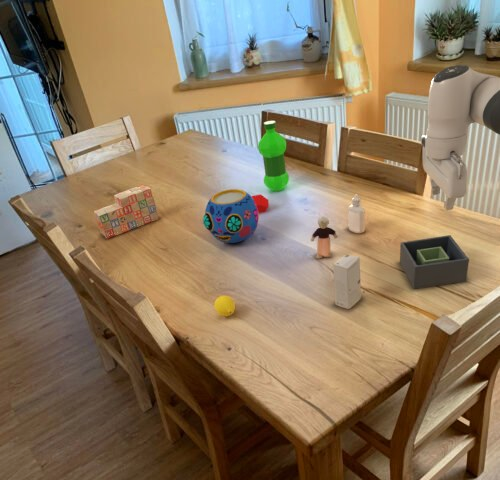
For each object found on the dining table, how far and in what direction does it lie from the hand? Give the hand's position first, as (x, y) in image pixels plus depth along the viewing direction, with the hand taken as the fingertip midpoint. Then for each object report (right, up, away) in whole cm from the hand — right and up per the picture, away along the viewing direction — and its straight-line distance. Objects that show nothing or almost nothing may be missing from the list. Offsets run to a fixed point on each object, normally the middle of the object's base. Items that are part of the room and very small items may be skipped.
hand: (441, 201), depth 124 cm
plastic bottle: (-37, +24, +71) cm, 83 cm away
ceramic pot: (-53, -1, +43) cm, 68 cm away
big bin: (+1, -17, +10) cm, 19 cm away
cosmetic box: (-22, -25, +5) cm, 34 cm away
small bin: (+1, -16, +10) cm, 19 cm away
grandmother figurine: (-25, -10, +25) cm, 37 cm away
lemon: (-54, -28, +9) cm, 61 cm away
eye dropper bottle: (-14, 0, +35) cm, 37 cm away
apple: (-44, +11, +57) cm, 73 cm away
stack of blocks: (-93, +7, +63) cm, 113 cm away
